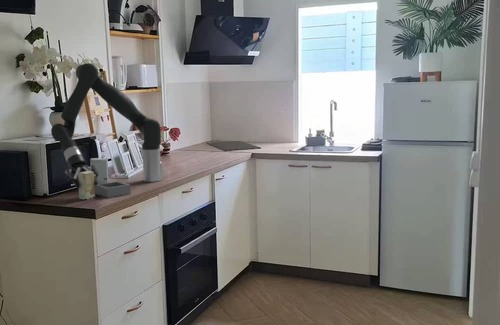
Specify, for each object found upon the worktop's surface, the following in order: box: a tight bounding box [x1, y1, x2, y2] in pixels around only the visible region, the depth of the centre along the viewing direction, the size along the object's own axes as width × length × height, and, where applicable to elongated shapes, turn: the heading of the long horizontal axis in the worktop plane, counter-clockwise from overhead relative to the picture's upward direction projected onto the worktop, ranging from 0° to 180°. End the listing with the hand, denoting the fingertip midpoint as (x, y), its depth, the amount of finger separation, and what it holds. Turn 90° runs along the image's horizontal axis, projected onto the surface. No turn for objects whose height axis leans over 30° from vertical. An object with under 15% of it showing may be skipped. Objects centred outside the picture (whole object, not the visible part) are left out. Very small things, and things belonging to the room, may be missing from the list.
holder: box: [95, 180, 132, 199], centre depth 239 cm, size 12×12×4 cm
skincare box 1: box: [77, 171, 96, 200], centre depth 230 cm, size 6×4×12 cm
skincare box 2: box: [89, 157, 109, 185], centre depth 254 cm, size 8×6×15 cm
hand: (87, 185), depth 229 cm, fingers open, 8 cm apart
